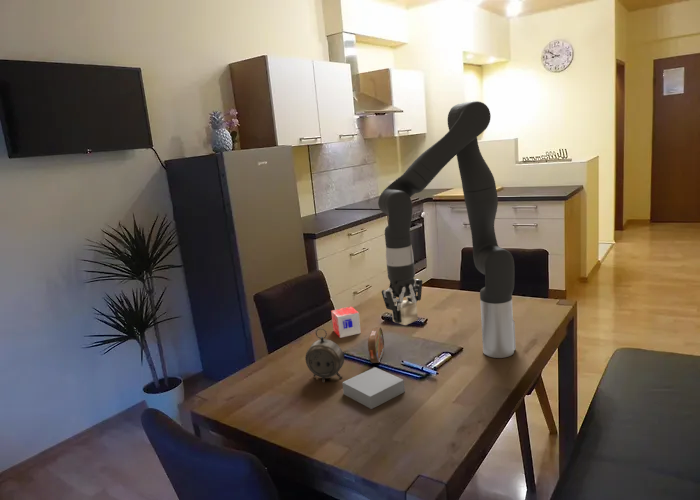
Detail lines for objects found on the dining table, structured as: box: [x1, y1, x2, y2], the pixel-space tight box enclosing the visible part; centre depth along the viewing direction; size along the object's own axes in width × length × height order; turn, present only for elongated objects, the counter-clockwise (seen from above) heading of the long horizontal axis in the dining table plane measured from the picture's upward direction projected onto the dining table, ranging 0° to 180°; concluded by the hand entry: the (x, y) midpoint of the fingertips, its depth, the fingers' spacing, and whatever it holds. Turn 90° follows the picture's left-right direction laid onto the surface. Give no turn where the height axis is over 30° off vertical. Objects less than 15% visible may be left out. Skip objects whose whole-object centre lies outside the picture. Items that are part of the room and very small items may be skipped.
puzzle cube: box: [330, 306, 362, 338], centre depth 190 cm, size 8×8×8 cm
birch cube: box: [391, 299, 419, 326], centre depth 148 cm, size 5×5×5 cm
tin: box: [367, 326, 385, 364], centre depth 166 cm, size 15×3×8 cm, turn 168°
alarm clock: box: [305, 327, 345, 383], centre depth 153 cm, size 11×5×16 cm, turn 71°
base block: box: [342, 366, 406, 410], centre depth 144 cm, size 12×12×4 cm
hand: (405, 319), depth 148 cm, fingers closed on birch cube, 5 cm apart
